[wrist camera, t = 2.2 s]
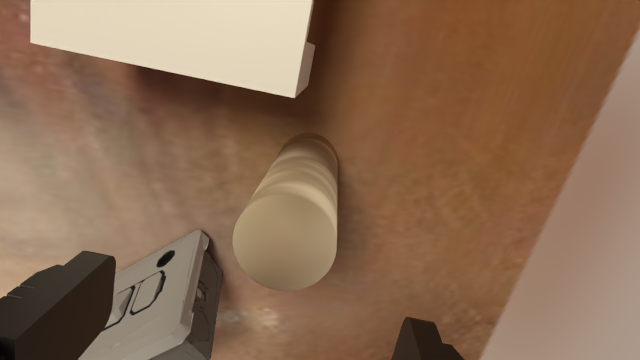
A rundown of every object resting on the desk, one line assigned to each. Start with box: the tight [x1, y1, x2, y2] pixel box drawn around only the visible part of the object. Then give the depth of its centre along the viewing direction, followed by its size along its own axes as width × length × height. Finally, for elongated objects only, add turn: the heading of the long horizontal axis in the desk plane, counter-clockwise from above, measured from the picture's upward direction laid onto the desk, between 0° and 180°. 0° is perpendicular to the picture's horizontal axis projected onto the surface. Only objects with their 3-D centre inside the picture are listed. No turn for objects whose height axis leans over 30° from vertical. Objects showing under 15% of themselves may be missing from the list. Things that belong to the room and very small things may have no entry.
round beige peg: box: [233, 133, 338, 291], centre depth 22 cm, size 4×4×13 cm
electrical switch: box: [78, 230, 223, 360], centre depth 28 cm, size 9×5×9 cm, turn 120°
